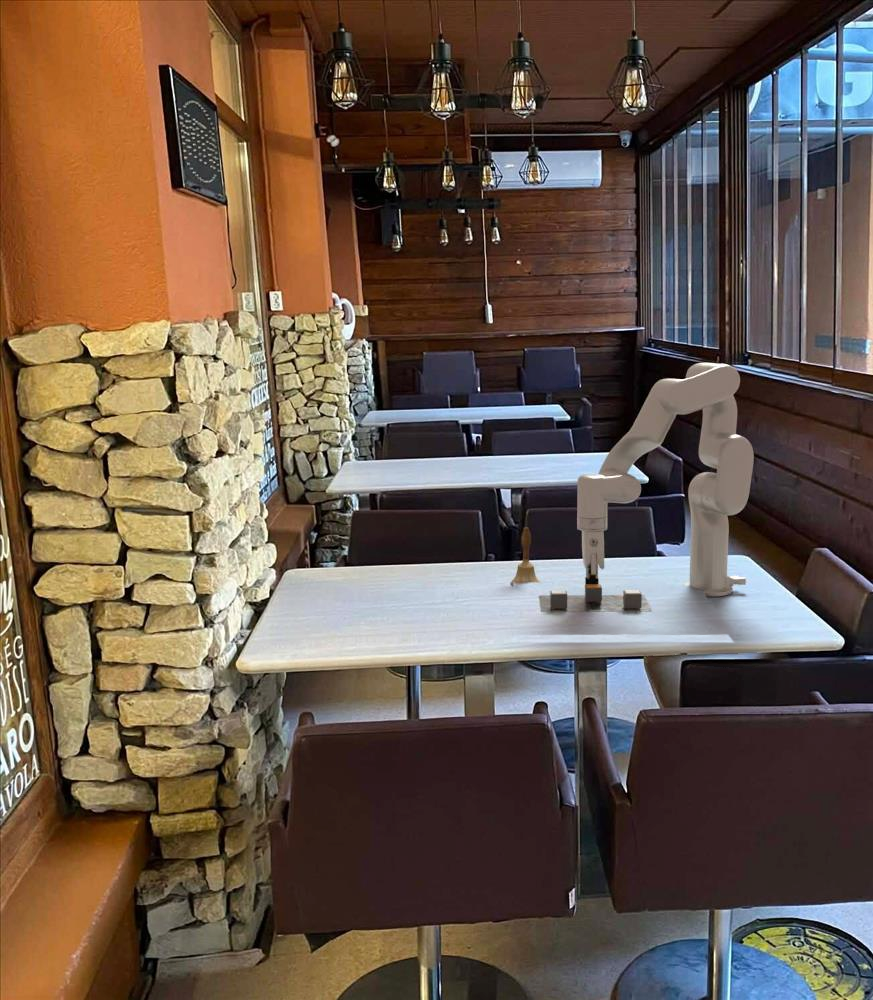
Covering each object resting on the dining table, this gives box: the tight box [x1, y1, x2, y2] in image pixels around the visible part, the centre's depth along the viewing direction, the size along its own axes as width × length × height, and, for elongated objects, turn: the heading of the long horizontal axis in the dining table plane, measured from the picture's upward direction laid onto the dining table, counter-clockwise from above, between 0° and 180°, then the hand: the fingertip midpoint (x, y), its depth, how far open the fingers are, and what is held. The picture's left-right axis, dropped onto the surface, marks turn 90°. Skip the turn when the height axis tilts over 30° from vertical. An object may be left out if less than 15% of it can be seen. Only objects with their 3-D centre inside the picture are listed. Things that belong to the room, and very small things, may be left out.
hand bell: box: [510, 526, 541, 586], centre depth 260 cm, size 8×8×16 cm
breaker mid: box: [584, 583, 603, 602], centre depth 238 cm, size 4×3×4 cm
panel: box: [538, 594, 653, 613], centre depth 237 cm, size 27×14×2 cm, turn 86°
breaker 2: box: [622, 589, 643, 608], centre depth 231 cm, size 4×3×4 cm
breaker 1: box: [549, 590, 568, 608], centre depth 233 cm, size 4×3×4 cm
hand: (591, 592), depth 241 cm, fingers closed
